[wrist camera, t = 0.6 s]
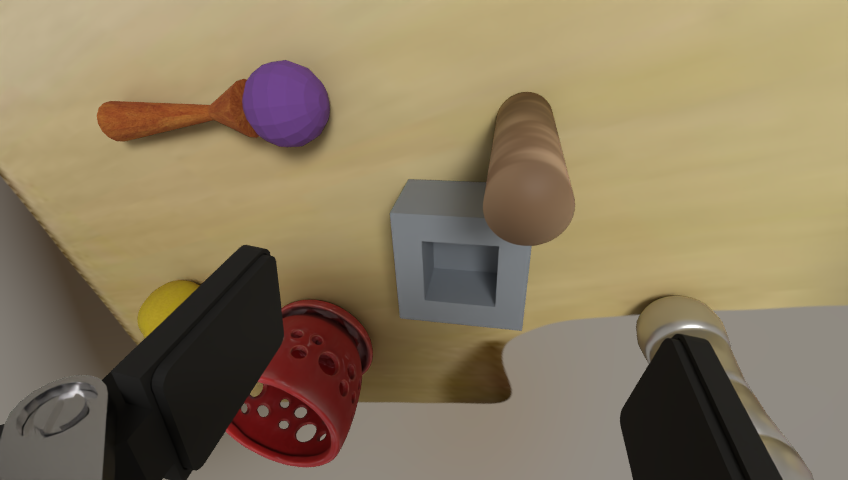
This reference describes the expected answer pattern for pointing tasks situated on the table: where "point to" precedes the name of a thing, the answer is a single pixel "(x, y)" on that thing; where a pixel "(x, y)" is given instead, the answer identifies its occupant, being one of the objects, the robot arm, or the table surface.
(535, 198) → the peg
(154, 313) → the lemon
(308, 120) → the purple maraca
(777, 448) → the plastic bottle
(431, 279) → the socket
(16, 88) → the table surface
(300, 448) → the plant pot
